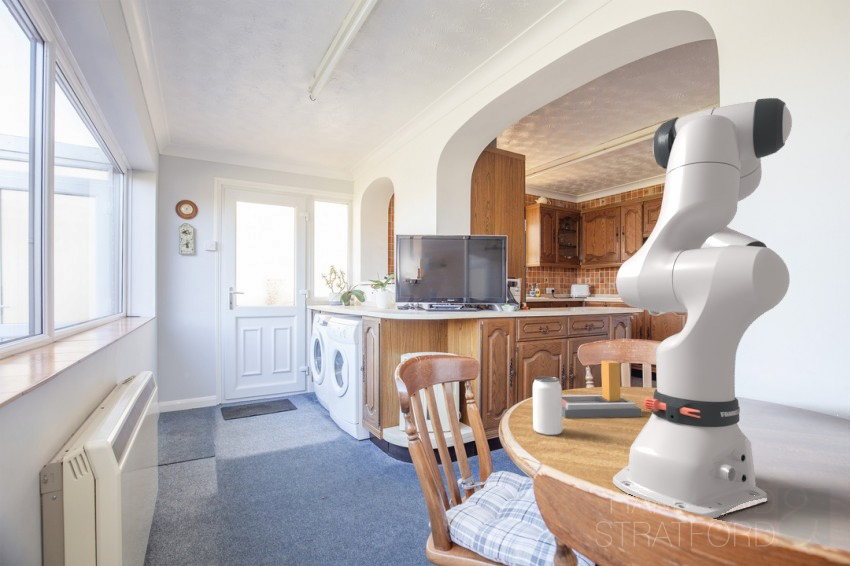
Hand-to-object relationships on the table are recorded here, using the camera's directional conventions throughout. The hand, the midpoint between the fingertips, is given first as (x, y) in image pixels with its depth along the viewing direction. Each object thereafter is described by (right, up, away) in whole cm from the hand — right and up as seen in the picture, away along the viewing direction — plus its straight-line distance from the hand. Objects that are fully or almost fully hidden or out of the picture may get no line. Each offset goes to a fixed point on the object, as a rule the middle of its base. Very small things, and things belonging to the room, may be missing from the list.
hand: (658, 308), depth 106 cm
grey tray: (-17, -28, +1) cm, 33 cm away
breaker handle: (-12, -25, +1) cm, 28 cm away
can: (-34, -27, -15) cm, 46 cm away
